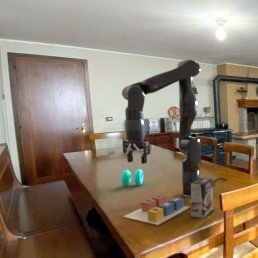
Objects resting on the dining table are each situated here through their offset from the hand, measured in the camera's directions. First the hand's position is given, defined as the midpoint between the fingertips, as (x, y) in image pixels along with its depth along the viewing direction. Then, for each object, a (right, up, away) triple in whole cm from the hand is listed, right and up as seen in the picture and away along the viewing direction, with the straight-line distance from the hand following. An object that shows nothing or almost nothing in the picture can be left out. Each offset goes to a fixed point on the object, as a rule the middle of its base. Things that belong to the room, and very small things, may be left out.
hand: (137, 162), depth 116 cm
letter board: (+10, -24, 0) cm, 26 cm away
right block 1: (+15, -24, -2) cm, 28 cm away
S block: (+13, -24, -7) cm, 28 cm away
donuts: (-26, -20, +37) cm, 49 cm away
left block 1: (+4, -23, +2) cm, 23 cm away
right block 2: (+17, -23, +4) cm, 29 cm away
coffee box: (+31, -24, 0) cm, 40 cm away
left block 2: (+6, -22, +8) cm, 25 cm away
